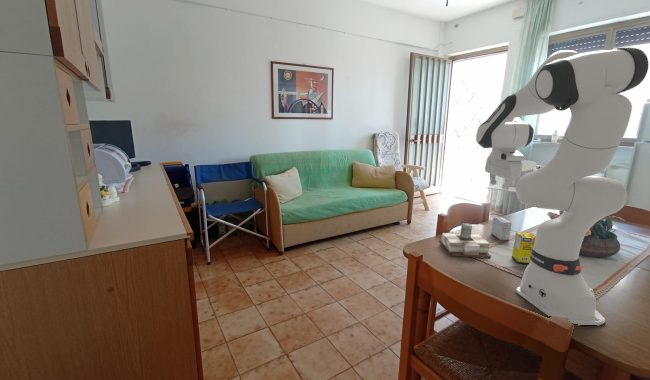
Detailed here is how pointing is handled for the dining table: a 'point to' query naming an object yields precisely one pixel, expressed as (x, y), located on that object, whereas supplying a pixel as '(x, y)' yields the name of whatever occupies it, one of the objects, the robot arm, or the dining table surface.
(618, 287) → the dining table surface
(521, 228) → the dining table surface
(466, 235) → the peg
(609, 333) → the dining table surface
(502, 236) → the medicine box
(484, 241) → the holder board
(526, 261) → the supplement box
